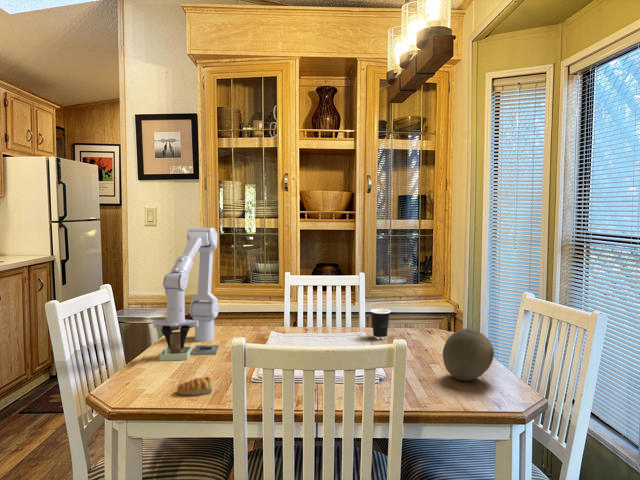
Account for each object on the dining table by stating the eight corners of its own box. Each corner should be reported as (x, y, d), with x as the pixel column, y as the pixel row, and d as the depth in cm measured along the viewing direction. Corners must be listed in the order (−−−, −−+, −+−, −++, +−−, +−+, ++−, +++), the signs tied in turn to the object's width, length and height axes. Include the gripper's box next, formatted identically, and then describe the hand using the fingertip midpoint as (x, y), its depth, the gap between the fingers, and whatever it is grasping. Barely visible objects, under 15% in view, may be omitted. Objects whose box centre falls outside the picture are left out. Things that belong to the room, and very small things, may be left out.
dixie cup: (387, 341, 181) (388, 313, 180) (368, 339, 183) (368, 311, 183) (391, 336, 188) (392, 309, 187) (372, 334, 191) (373, 308, 190)
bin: (166, 355, 161) (166, 346, 161) (192, 354, 162) (192, 346, 162) (159, 363, 152) (159, 354, 152) (187, 362, 153) (187, 353, 153)
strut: (170, 354, 156) (169, 334, 155) (172, 351, 159) (172, 331, 159) (180, 354, 156) (180, 334, 155) (182, 351, 159) (182, 331, 159)
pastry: (178, 399, 124) (178, 385, 124) (175, 390, 130) (175, 377, 130) (214, 394, 128) (214, 380, 127) (209, 385, 134) (209, 372, 134)
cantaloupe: (459, 390, 131) (460, 337, 130) (434, 373, 144) (434, 325, 143) (502, 385, 134) (503, 334, 134) (473, 369, 148) (474, 323, 147)
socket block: (196, 350, 167) (196, 345, 167) (218, 350, 167) (218, 345, 167) (192, 357, 159) (192, 352, 159) (215, 357, 159) (215, 351, 159)
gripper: (150, 310, 152) (151, 351, 153) (195, 310, 153) (196, 350, 154) (156, 306, 159) (156, 345, 160) (199, 306, 160) (199, 344, 161)
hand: (176, 347), depth 157 cm, fingers closed on strut, 3 cm apart
